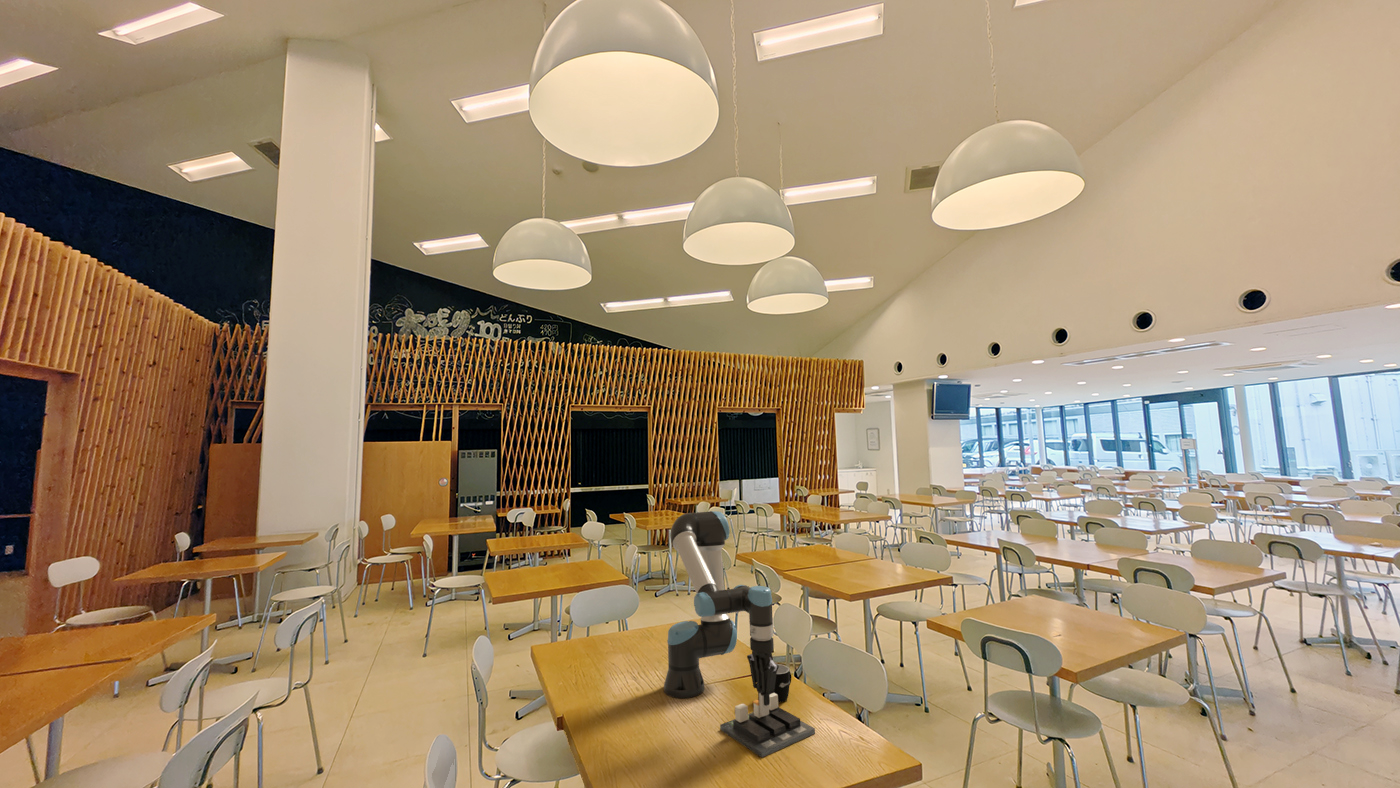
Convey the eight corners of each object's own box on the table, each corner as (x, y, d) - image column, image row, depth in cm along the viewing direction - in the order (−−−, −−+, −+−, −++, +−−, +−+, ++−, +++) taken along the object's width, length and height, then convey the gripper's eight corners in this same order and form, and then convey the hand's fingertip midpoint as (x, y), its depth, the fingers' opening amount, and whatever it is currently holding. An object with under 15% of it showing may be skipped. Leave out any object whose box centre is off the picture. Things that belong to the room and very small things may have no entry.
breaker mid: (753, 715, 171) (753, 701, 171) (761, 712, 173) (760, 698, 173) (758, 718, 169) (758, 703, 169) (766, 715, 171) (766, 700, 171)
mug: (779, 706, 184) (778, 676, 185) (760, 698, 191) (759, 668, 192) (801, 695, 192) (799, 666, 193) (781, 688, 199) (780, 659, 200)
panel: (720, 729, 170) (720, 718, 170) (771, 709, 182) (771, 698, 182) (761, 757, 153) (761, 744, 154) (815, 733, 166) (814, 721, 166)
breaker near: (735, 719, 168) (735, 706, 169) (743, 716, 170) (742, 703, 170) (740, 722, 166) (739, 709, 167) (748, 719, 168) (747, 706, 169)
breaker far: (766, 707, 176) (765, 694, 176) (773, 704, 177) (772, 692, 178) (771, 710, 174) (770, 697, 174) (778, 707, 175) (777, 694, 176)
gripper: (739, 634, 175) (742, 710, 172) (766, 645, 164) (769, 726, 162) (757, 629, 179) (759, 703, 177) (784, 640, 169) (787, 718, 166)
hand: (764, 714), depth 169 cm, fingers closed
